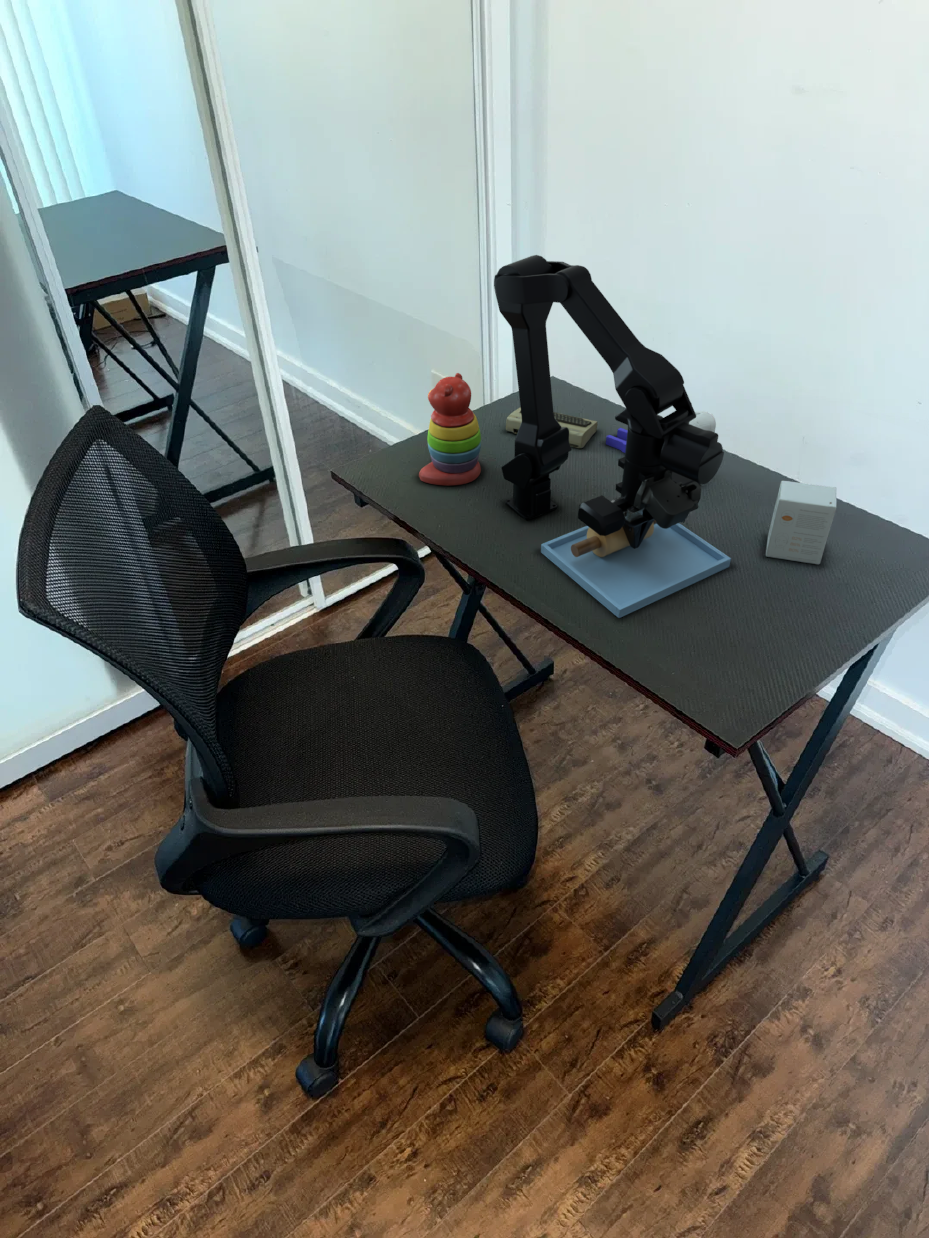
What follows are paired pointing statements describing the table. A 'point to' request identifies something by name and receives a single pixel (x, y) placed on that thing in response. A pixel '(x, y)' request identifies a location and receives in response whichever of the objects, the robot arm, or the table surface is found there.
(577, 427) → the computer
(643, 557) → the tray
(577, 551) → the rolling pin
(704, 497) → the table surface
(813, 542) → the small box
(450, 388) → the stacking bear
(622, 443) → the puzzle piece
